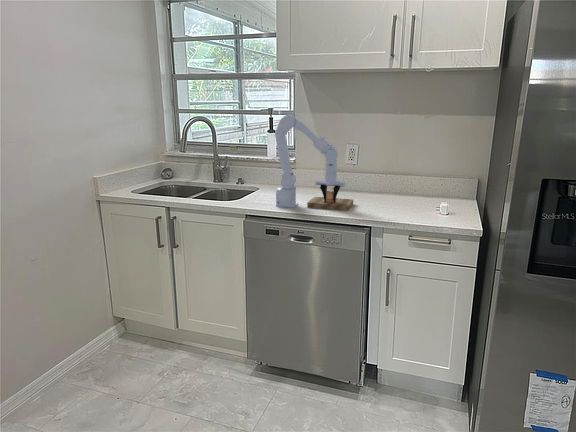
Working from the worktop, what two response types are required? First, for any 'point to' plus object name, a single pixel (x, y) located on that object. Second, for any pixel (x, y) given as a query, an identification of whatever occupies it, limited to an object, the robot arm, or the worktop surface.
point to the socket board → (330, 204)
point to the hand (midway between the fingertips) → (329, 200)
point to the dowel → (329, 196)
